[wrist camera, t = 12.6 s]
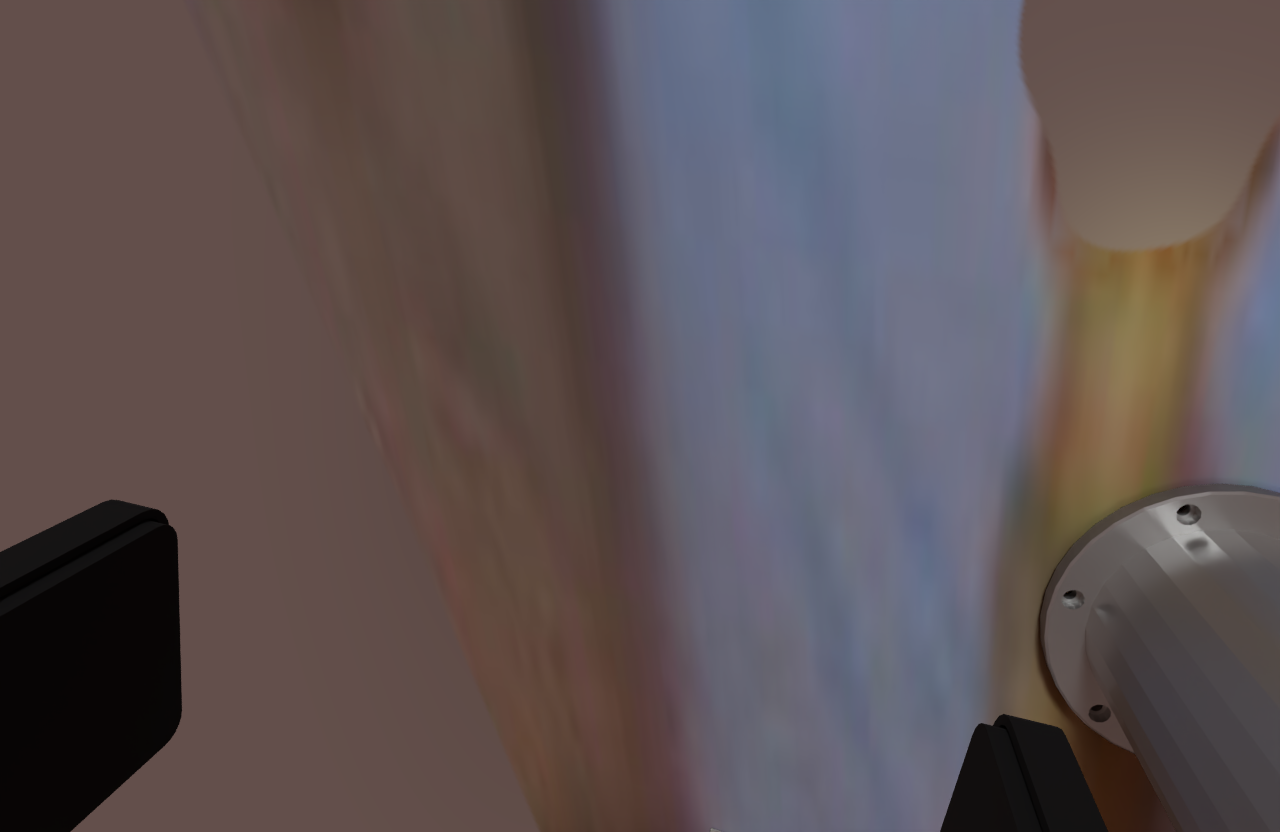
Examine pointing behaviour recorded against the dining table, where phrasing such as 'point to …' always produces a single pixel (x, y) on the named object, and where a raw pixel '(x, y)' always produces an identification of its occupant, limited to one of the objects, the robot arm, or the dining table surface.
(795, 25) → the dining table surface
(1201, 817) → the robot arm
